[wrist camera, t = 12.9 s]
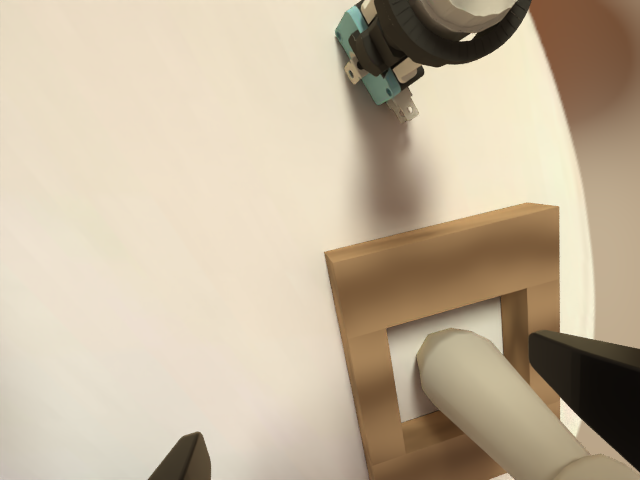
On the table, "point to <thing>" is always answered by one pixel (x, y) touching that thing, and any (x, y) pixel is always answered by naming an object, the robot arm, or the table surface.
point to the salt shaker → (505, 411)
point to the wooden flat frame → (432, 298)
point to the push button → (420, 41)
